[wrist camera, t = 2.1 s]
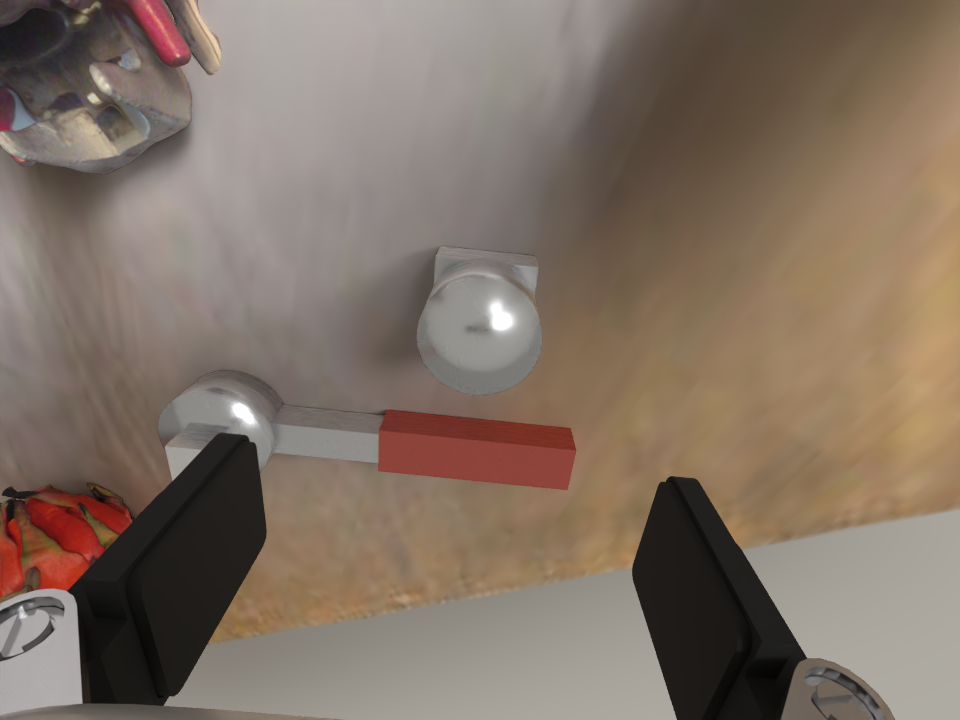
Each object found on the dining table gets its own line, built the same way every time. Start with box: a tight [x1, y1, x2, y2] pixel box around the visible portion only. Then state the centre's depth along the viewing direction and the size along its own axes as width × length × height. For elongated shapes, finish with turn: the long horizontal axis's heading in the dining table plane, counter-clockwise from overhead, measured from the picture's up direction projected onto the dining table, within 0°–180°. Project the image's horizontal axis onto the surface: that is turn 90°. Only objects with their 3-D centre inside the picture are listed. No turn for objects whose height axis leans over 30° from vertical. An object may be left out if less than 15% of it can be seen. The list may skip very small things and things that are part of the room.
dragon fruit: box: [0, 483, 132, 604], centre depth 30 cm, size 8×8×12 cm
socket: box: [417, 246, 542, 395], centre depth 22 cm, size 5×5×6 cm
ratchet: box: [158, 370, 576, 490], centre depth 27 cm, size 23×6×5 cm, turn 84°
